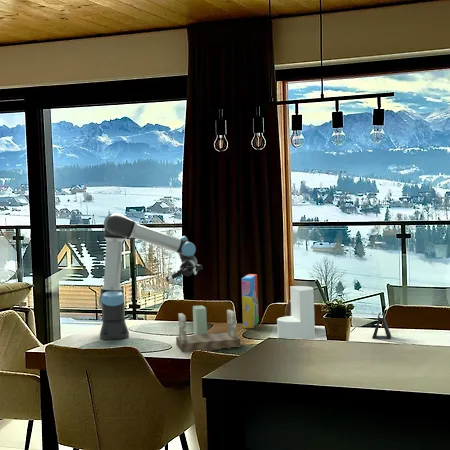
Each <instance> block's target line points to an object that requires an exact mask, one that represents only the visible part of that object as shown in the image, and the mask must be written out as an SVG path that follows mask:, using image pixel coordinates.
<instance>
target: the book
mask: <svg viewBox="0 0 450 450" xmlns="http://www.w3.org/2000/svg"><path fill="white" fill-rule="evenodd" d="M207 321H208V319H207V308H206V307H205V306H204V305H202V304H201V305H193V306H192V325H193V335H204V334H208V322H207Z"/></svg>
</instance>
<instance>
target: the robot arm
mask: <svg viewBox="0 0 450 450" xmlns="http://www.w3.org/2000/svg"><path fill="white" fill-rule="evenodd" d="M103 227H104V228H103V229H104V230H103V238H104V239H105V241H106V246H105V259H104V277H103V285H102V286H101V287H100V294H99V295H100V296H99V299H98V303H99V307H100V308H101V314H102V315H101V317H102V324H101V327H100V331H99V339H100V340H106V341H107V340H108V341H111V340H112V341H113V340H123V339H127V338H129V336H130V331H129V329H128V325H127V324H126V323H127V322H126V315H125V314H126V313H125V312H126V311H125V296H124V295H125V294H124V293H123V287H122V286H121V276H122V275H121V271H122V256H123V242H124V241H125V240H126V238H127V239H132V238H134V239H136V240H139V241H142V242H145V243H148V244H151V245H153V246H156V247H159V248H163V249H165V250H167V251H170V252H174V253H178V255H179V259H180V261H181V264H180V266H179V269H178V270H175V271H173V272H172V273H170V274H169V275H167V276H165V280H166V282H169V284H172V283H173V281H174V280H175V279H177V278H179V277H182V276H186V277H189V276H191V275H192V274H194V276H195V275H197V274H198V272H200V271H202V270H203V268H204V267H203V265H202V264H198V259H197V258H196V256H195V253H196V249H197V248H196V245H195V244H194V242H192V241H189V239H188V237H187V236H186V235H183V236H180V237H176V236H173V235H170V234H167V233H164V232H161V231H159V230H156V229H152V228H150V227H147V226H145V225H141V224H139V223H137V221H136V220H133V219H130V218H128V217H126V216H125V215H124V214H121V213H119V212H112V213H110V214H108V215H107V216H106V217H105V218H104V221H103Z"/></svg>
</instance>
